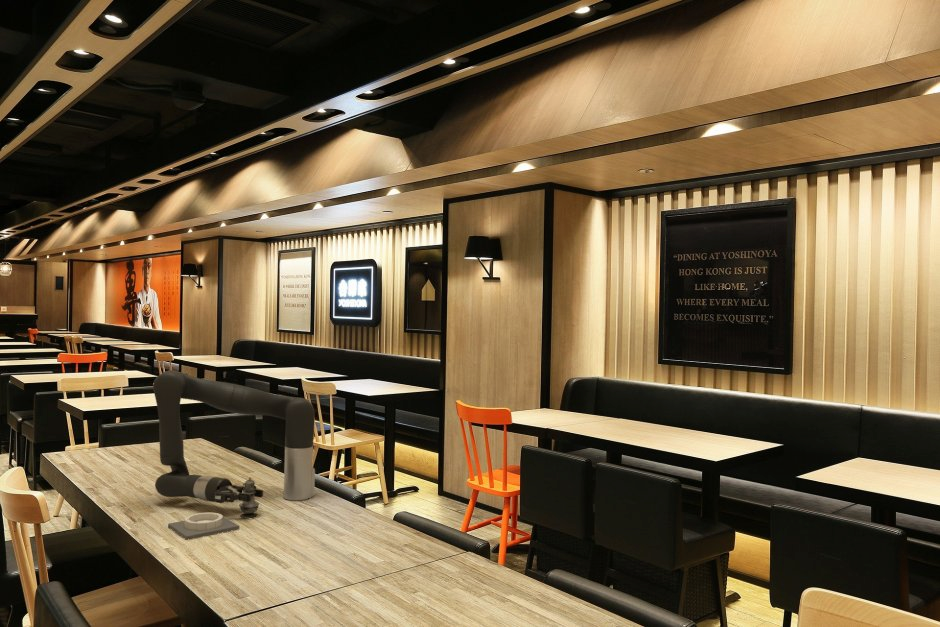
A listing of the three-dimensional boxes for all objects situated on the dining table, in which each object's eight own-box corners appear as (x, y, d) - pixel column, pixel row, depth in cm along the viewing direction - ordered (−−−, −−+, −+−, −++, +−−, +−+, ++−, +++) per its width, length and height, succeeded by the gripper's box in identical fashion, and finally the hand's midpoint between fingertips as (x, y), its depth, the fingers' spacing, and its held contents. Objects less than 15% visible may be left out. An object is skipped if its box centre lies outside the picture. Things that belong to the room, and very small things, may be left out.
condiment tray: (219, 517, 206) (219, 507, 206) (239, 529, 196) (239, 518, 196) (168, 527, 196) (168, 516, 196) (186, 540, 186) (186, 529, 185)
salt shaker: (252, 519, 205) (253, 480, 205) (234, 518, 206) (236, 478, 206) (262, 514, 210) (263, 475, 210) (245, 512, 212) (246, 474, 212)
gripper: (195, 482, 207) (240, 489, 200) (229, 472, 220) (272, 478, 214) (195, 506, 207) (240, 514, 200) (228, 495, 220) (271, 502, 214)
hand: (256, 496), depth 207 cm, fingers open, 5 cm apart
